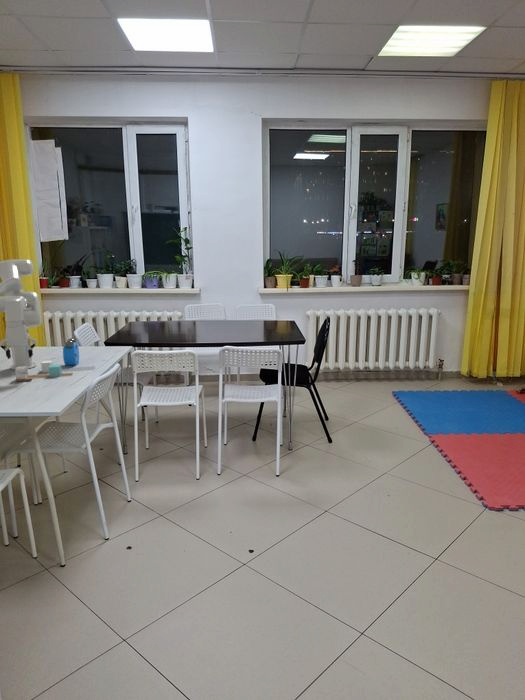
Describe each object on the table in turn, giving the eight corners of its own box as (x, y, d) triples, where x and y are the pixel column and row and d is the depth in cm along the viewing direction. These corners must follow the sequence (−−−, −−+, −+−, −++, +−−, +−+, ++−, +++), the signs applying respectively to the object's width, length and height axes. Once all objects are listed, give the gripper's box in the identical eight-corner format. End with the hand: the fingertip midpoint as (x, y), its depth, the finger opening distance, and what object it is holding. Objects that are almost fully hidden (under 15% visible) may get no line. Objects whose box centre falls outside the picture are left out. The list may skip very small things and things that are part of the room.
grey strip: (44, 371, 247) (42, 360, 246) (95, 368, 253) (94, 357, 252) (41, 374, 240) (40, 363, 239) (94, 371, 247) (93, 360, 245)
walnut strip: (18, 377, 235) (17, 366, 234) (73, 374, 241) (72, 363, 240) (15, 381, 228) (13, 370, 227) (71, 377, 235) (70, 366, 233)
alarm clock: (69, 363, 264) (66, 337, 261) (80, 362, 265) (78, 336, 262) (64, 369, 252) (61, 342, 248) (76, 368, 253) (73, 341, 250)
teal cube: (51, 374, 238) (50, 364, 236) (61, 373, 239) (60, 364, 238) (49, 377, 233) (48, 367, 232) (60, 376, 234) (59, 366, 233)
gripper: (36, 321, 232) (40, 354, 236) (-2, 322, 228) (2, 356, 232) (33, 324, 225) (37, 358, 229) (-7, 326, 221) (-2, 360, 225)
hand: (20, 357), depth 231 cm, fingers open, 9 cm apart
